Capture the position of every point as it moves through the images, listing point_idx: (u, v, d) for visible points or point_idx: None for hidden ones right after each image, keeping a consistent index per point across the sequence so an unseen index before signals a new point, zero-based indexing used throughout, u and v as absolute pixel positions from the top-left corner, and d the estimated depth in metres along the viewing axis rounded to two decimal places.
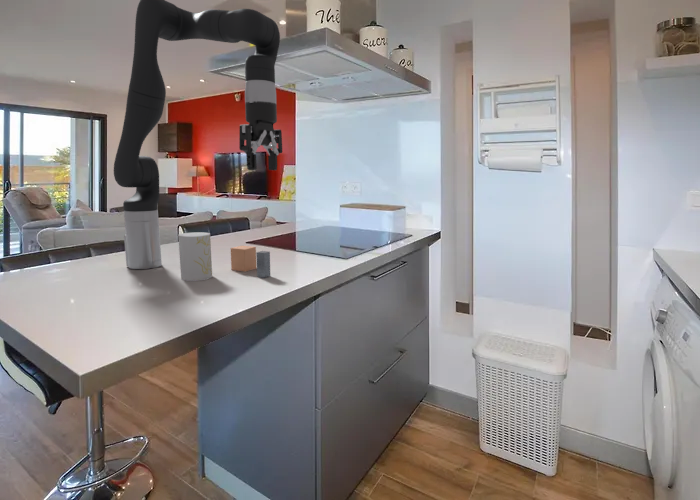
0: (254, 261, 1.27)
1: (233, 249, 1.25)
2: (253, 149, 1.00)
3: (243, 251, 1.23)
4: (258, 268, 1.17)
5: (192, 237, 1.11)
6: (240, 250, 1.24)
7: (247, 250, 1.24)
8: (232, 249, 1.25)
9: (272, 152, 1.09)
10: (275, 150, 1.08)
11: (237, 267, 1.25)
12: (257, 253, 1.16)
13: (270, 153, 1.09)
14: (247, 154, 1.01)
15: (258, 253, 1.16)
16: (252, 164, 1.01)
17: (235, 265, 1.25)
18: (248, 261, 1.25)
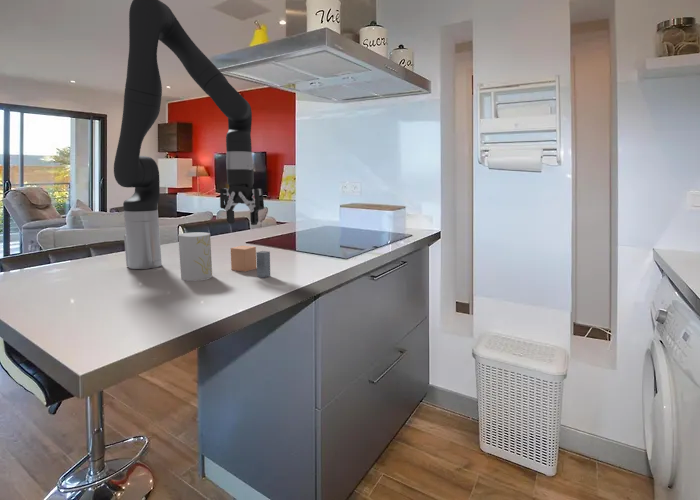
0: (254, 261, 1.27)
1: (233, 249, 1.25)
2: None
3: (243, 251, 1.23)
4: (258, 268, 1.17)
5: (192, 237, 1.11)
6: (240, 250, 1.24)
7: (247, 250, 1.24)
8: (232, 249, 1.25)
9: (231, 208, 1.26)
10: None
11: (237, 267, 1.25)
12: (257, 253, 1.16)
13: (229, 209, 1.25)
14: (255, 212, 1.22)
15: (258, 253, 1.16)
16: None
17: (235, 265, 1.25)
18: (248, 261, 1.25)
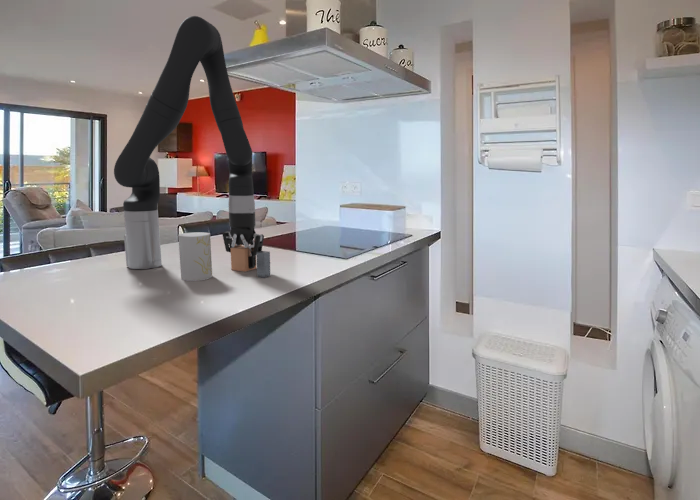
0: None
1: (233, 249, 1.25)
2: None
3: (243, 251, 1.23)
4: (258, 268, 1.17)
5: (192, 237, 1.11)
6: (240, 250, 1.24)
7: (247, 250, 1.24)
8: (232, 249, 1.25)
9: None
10: None
11: (237, 267, 1.25)
12: (257, 253, 1.16)
13: None
14: (253, 256, 1.25)
15: (258, 253, 1.16)
16: None
17: (235, 265, 1.25)
18: None
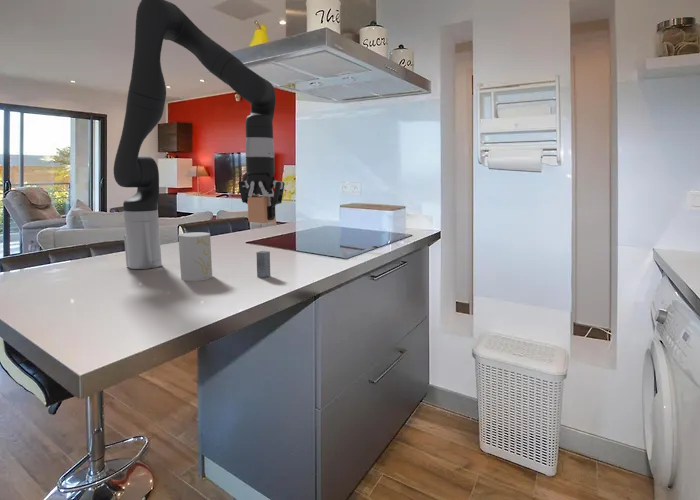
0: None
1: (250, 198, 1.13)
2: None
3: (262, 200, 1.11)
4: (258, 268, 1.17)
5: (192, 237, 1.11)
6: (258, 199, 1.12)
7: (266, 199, 1.12)
8: (250, 199, 1.13)
9: None
10: None
11: (255, 218, 1.13)
12: (257, 253, 1.16)
13: None
14: (272, 206, 1.13)
15: (258, 253, 1.16)
16: None
17: (253, 216, 1.13)
18: None
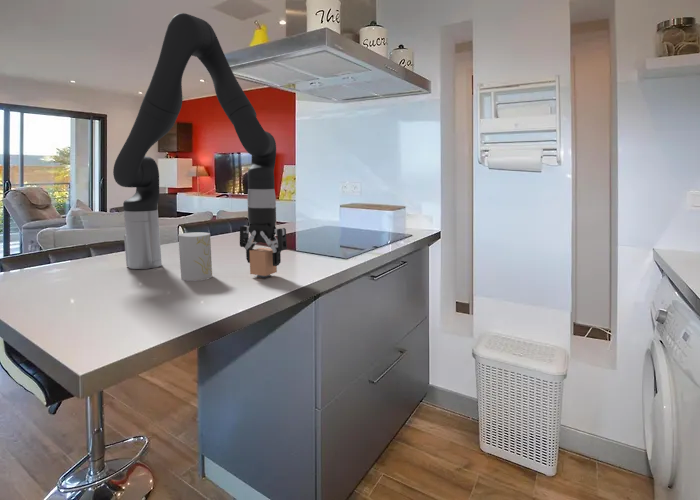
0: None
1: (252, 252, 1.15)
2: None
3: (263, 254, 1.14)
4: None
5: (192, 237, 1.11)
6: (260, 253, 1.14)
7: (267, 252, 1.15)
8: (252, 252, 1.16)
9: (251, 246, 1.19)
10: None
11: (256, 271, 1.16)
12: None
13: (249, 247, 1.18)
14: (278, 253, 1.15)
15: None
16: None
17: (254, 269, 1.16)
18: (268, 264, 1.16)
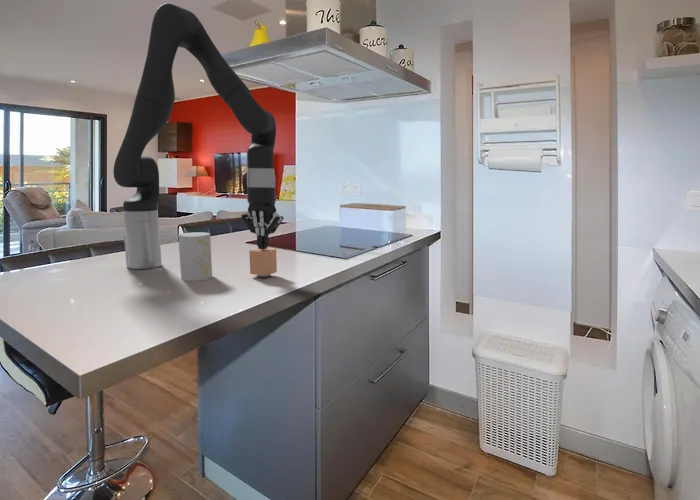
0: (274, 264, 1.18)
1: (252, 252, 1.15)
2: None
3: (263, 254, 1.14)
4: None
5: (192, 237, 1.11)
6: (260, 253, 1.14)
7: (267, 252, 1.15)
8: (252, 252, 1.16)
9: None
10: None
11: (256, 271, 1.16)
12: None
13: (260, 233, 1.16)
14: (266, 236, 1.15)
15: None
16: None
17: (254, 269, 1.16)
18: (268, 264, 1.16)
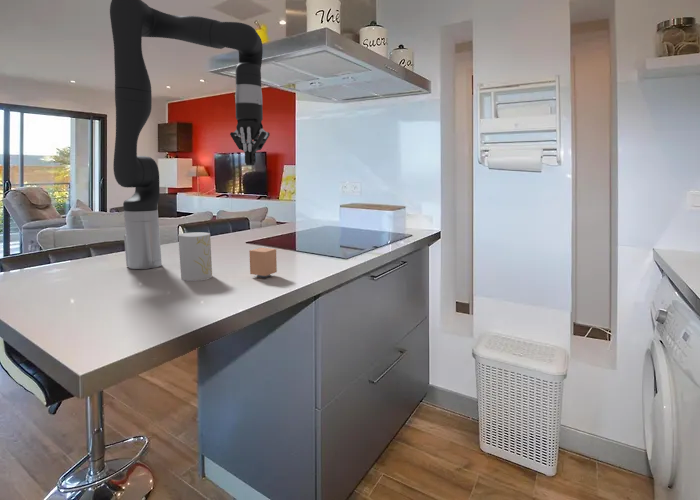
0: (274, 264, 1.18)
1: (252, 252, 1.15)
2: None
3: (263, 254, 1.14)
4: None
5: (192, 237, 1.11)
6: (260, 253, 1.14)
7: (267, 252, 1.15)
8: (252, 252, 1.16)
9: None
10: None
11: (256, 271, 1.16)
12: None
13: None
14: (253, 152, 1.22)
15: None
16: None
17: (254, 269, 1.16)
18: (268, 264, 1.16)
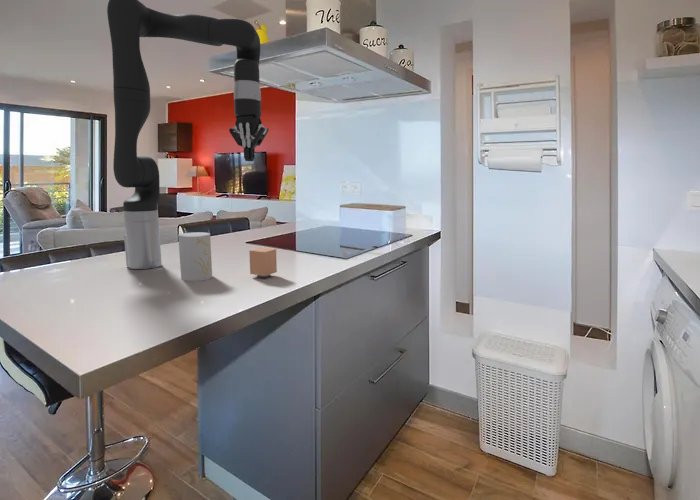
0: (274, 264, 1.18)
1: (252, 252, 1.15)
2: None
3: (263, 254, 1.14)
4: None
5: (192, 237, 1.11)
6: (260, 253, 1.14)
7: (267, 252, 1.15)
8: (252, 252, 1.16)
9: None
10: None
11: (256, 271, 1.16)
12: None
13: None
14: (252, 148, 1.22)
15: None
16: None
17: (254, 269, 1.16)
18: (268, 264, 1.16)
